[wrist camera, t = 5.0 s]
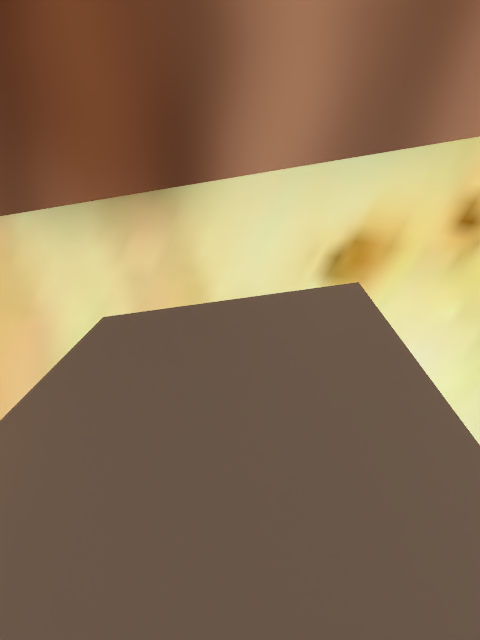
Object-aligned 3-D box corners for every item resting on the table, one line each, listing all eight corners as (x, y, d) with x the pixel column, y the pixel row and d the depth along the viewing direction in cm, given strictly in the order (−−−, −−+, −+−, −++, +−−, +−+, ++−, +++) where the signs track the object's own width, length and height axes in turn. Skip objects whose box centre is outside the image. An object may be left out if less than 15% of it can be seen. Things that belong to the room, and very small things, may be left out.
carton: (176, 576, 11) (-6, 1437, 4) (102, 316, 9) (-824, 1246, 1) (386, 560, 11) (680, 1529, 3) (369, 280, 8) (1390, 1499, 1)
